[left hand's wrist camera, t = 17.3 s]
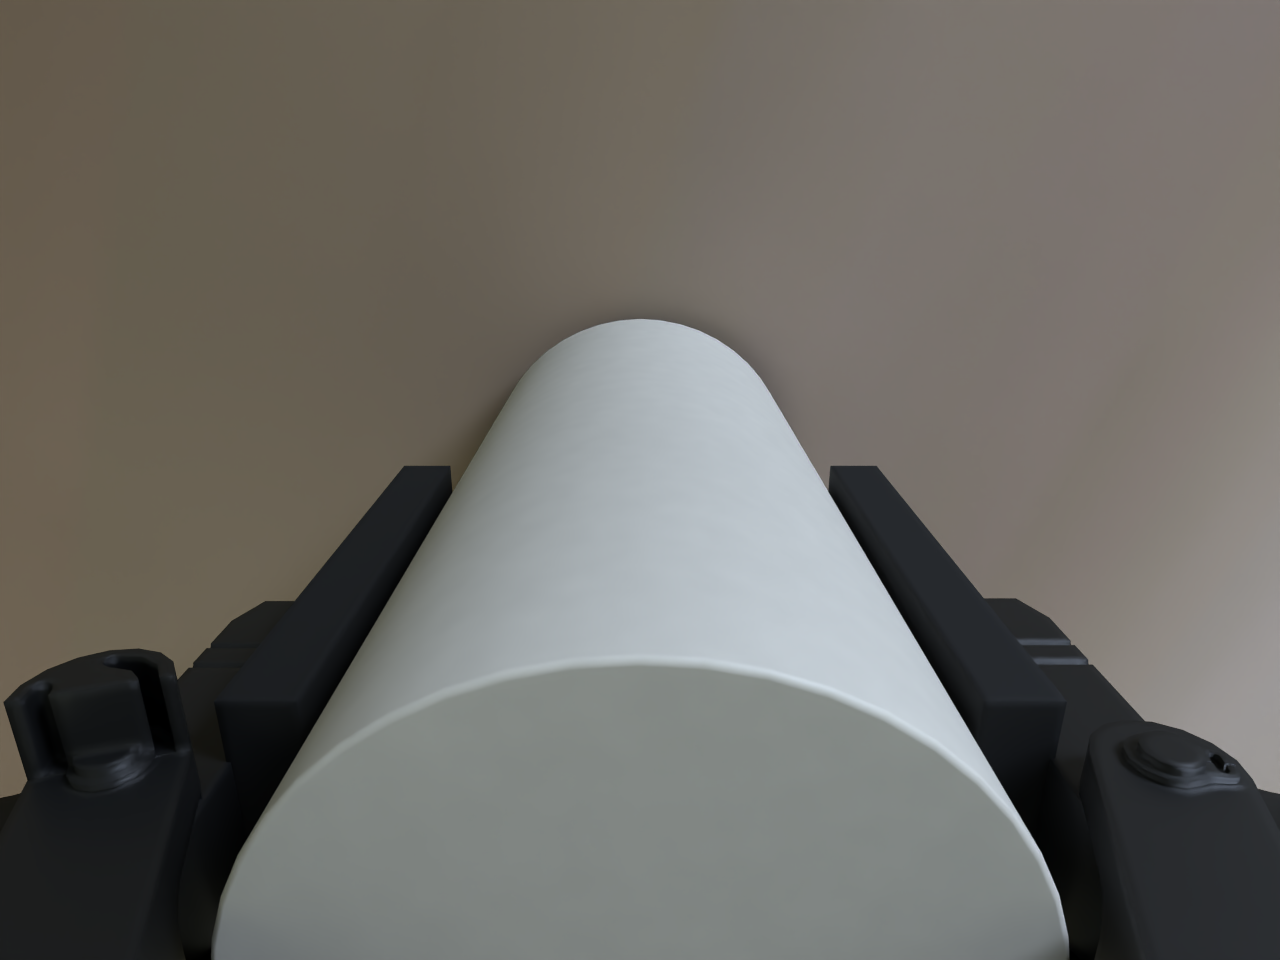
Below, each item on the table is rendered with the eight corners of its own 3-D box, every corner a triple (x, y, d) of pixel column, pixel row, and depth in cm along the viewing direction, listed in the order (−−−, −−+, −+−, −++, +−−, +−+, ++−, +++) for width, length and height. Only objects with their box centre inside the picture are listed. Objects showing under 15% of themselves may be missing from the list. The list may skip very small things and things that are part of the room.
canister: (468, 340, 17) (71, 720, 5) (773, 298, 17) (1096, 599, 5) (523, 609, 19) (335, 1312, 7) (796, 576, 19) (1057, 1253, 7)
